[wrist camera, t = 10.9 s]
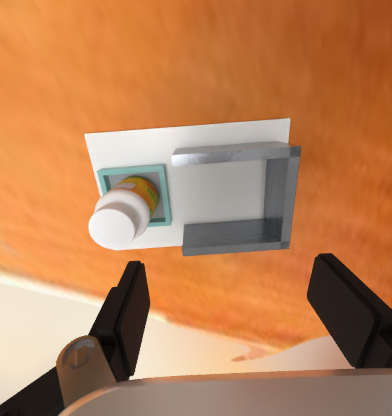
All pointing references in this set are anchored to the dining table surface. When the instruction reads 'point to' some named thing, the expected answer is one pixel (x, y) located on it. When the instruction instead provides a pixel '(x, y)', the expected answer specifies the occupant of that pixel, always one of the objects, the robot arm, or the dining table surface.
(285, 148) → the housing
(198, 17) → the dining table surface
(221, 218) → the base plate
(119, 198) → the supplement bottle
